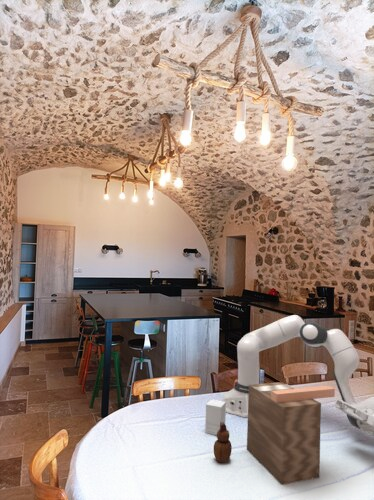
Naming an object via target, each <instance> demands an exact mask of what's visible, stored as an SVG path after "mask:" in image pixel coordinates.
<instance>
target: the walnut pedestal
mask: <svg viewBox="0 0 374 500" xmlns="http://www.w3.org/2000/svg"><path fill="white" fill-rule="evenodd" d="M287 389H295V387H293V386H291V385H289V384H287V383H284V382H283V381H280V382H267V383H266V382H265V383H259V384H252V385H249V396H248V417H247V430H246V431H247V433H246V450H247V452H249V454H250V455H251V456H252V457H253V458H254V459H256V461H257V462H258V463H259V464H261V465H262V466H263V468H265V470H267V472H268V473H269V474H270V475H271V476H272V477H273V478H274V479H275V480H276V481H277V482H278V483H279V484H280V485H286V484H291V483H296V482H297V481H298V482H302V481H307V479H308V480H311V479H312V478H313V479H316V478H320V474H321V473H320V470H321V469H320V467H321V465H320V464H321V461H320V460H321V425H322V424H321V422H322V421H321V420H322V416H321V414H322V403H321V402H319V401H317V400H316V399H308V400H298V401H289V402H279V403H276V402H275V401H273V400H272V399H271V391H276V390H287Z"/></svg>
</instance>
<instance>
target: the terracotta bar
mask: <svg viewBox="0 0 374 500" xmlns="http://www.w3.org/2000/svg"><path fill="white" fill-rule="evenodd" d="M335 389H336V388H333V387H331V386H329V385H321V386H311V387H310V386H309V387H301V388H294V389H287V390H276V391H271V399H272V400H273V401H275V402H276V403H279V402H289V401H298V400H308V399H314V400H316V399H326V398H327V399H328V398H335V393H336V392H335Z"/></svg>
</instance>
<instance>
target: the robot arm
mask: <svg viewBox="0 0 374 500" xmlns="http://www.w3.org/2000/svg"><path fill="white" fill-rule="evenodd" d="M294 338H300V339H301V340H302V341H303V342H304V344H306V345H307V346H309V347H312V348H321V347H325V348H326V350H327V351H328V352H329V354H330V357H331V358H332V360H333V364H334V370H333V373H332V374H333V378H334V381H335V383H336V386H337V387H336V388H337V389H338V392H339V394H340V396H341V397H340V398H341V399H336V400H335V405H334V406H335V408H336V409H338V410H339V411H342V412H343V413H344V414H346V418H347V420H348V422H349V423H350V425H352V426H353V427H355V428H357V429H359V430H362V431H363V432H365V433H367V434H368V435H370V436H371V437H374V395H373V396H371V397H368V398H366V399H364V400H361V401H358V402H356V400H355V398H354V395H353V392H352V390H351V387H350V384H349V383H350V382H349V381H350V379H351V377H352V375H353V374H354V372H356V370H357V369H358V366H359V364H360V356H359V354H358V351H357V350H356V348H355V346H354V345H353V343H352V342H351V340H350V338H349V337H347V335H346V334H345V333H344V331H343V330H341V329H340V328H331V329H329V330H327V328H325V327H323V326H322V325H320V324H318V323H317V322H315V321H314V322H313V321H307V322H305V321H304V320H303V318H302V317H301V316H300V315H297V314H293V315H288V316H286V317H282V318H280V319H278V320H275V321H274V322H271V323H269V324H267V325H265V326H263V327H260V328H258V329H256V330H252V331H251V332H248V333H246V334H245V335H243V337H241V339H240V340H239V341H238V342H237V345H236V350H237V351H236V353H237V368H238V369H237V371H238V372H237V379H235V380H234V383H233V388H232V389H230V390H229V391H227V392H225V394H224V396H223V398H222V401H223V402H226V413H227V414H232V415H235V416H238V417H242V418H248V396H249V385H252V384H260V371H261V370H260V352H262V351H264V350H267V349H270V348H271V349H272V348H273V347H277V346H279V345H281V344H284V343H285V342H287V341H289V340H292V339H294Z"/></svg>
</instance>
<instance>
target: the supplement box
mask: <svg viewBox="0 0 374 500" xmlns="http://www.w3.org/2000/svg"><path fill="white" fill-rule="evenodd" d="M226 413H227V412H226V402H223V400H217V399H213V398H211V399H210V400H209V401H208V402H206V403H205V428H204V429H205V430H204V433H205V434H209V435H213V436H217V432H218V430H220V422H221V423H223V422H224V424H225V425H226V415H227V414H226Z"/></svg>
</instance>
